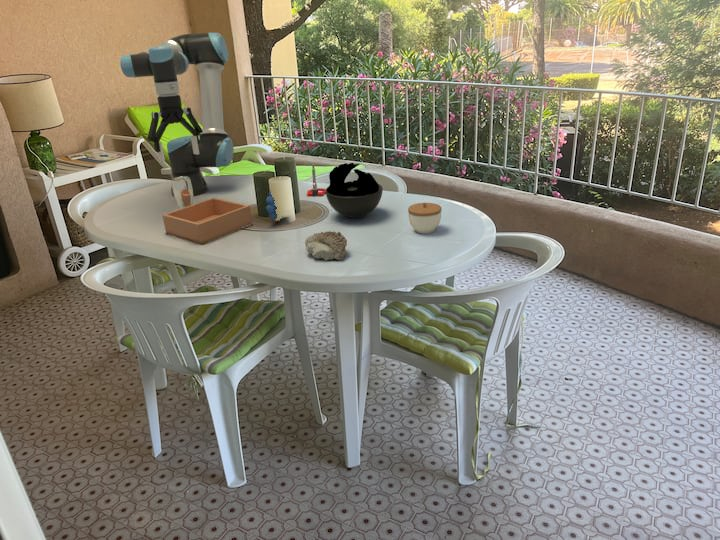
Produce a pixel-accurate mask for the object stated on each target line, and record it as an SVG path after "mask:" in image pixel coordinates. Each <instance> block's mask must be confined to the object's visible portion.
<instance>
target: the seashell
mask: <svg viewBox="0 0 720 540" xmlns="http://www.w3.org/2000/svg"><path fill="white" fill-rule="evenodd" d="M304 244H305V250H306V251H307V253H309V254H312V257H313V258H314V259H323V260H324V261H327V262H328V261H332V260H334V259H335V260H338V261H341V260H343V259H344V258H345V255H346V247H347V246H348V245H347V244H348V239H346V237H345V236H344V235H343V234H342V233H341V231H337V232H336V231H330V230H329V231H324V232H322V231H320V232H318V233H314V234H311V235H310V236H308V237H306V239H305V241H304Z"/></svg>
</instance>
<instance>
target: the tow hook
mask: <svg viewBox="0 0 720 540" xmlns="http://www.w3.org/2000/svg"><path fill="white" fill-rule="evenodd" d="M311 168H312V170H311V172H312V188H310V189H309V190H307V193H306V196H307V197H323V196H325V195H326V189H327V188H324V187H323V188H318V186H317V185H318V184H317V179H316V169H315V163H312V164H311Z"/></svg>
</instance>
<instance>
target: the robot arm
mask: <svg viewBox="0 0 720 540" xmlns="http://www.w3.org/2000/svg"><path fill="white" fill-rule="evenodd" d="M229 57H230V56H229V51H228V47H227V43H226V41H225V39H224V37H223V35H222V34H220V33H219V32H210V31H209V32H201V33H185V34H181V35H177V36H174V37H171V38H168V39H166V40H164V41H162V42H161V44H160V45H158V46H151V47H149V49H147V50H143V51H141V52H138V53H134V54H130V53H129V54H125V55H121V58H120V61H119V62H120V69H121V72H122V73H123V75H124V77H125V76H126V78H142V77H143V78H144V77H153V81H154V87H155V88H154V89H155V93H156V95H157V103H158V107H159V112H158V111H152V112H150V113H151V121H150V125H149V130H148V134H147V139H146V140H147V141H148V142H152V143H153V147H154V151H155V152H156V153H157V157H158V161H159V162H161V163H162V162H163V163H165V162H166V158H165V154H164V152H165V151H164V148H163V143H162V142H161V139H162V137H163V135H164V132H165V131H166V128H167V127H168V126H169V125H171V124H175V123H176V124H179V123H180V125H182V126H183V127H184V128H185V129H186V130H187V131H189V133H190V134H191V135H186V136H181V137H177V138H174V139H171V140H169V141H167V143H166V150H167V155H168V160H169V161H168V162H169V166H170V171H171V175H172V177H171V180H172V179H173V178H176V177H182V176H188V177H190V180H191V184H192V188H193V197H194V196H198V195H202V194H204V193H206V192H207V191H208V190H209V189H208V183H207V182H206V180H205V178H204V177H203V175H202V172H201V168H221V167H228V166H229V165H230V164H231V163H232V161H233V158H234V143H233V140H232V138H230V137H229V134H228V132H226V131H225V128H224V127H225V126H224V110H223V107H224V106H223V88H222V73H221V72H223V70H224V69H225V64H226V63H228V62H229ZM189 65H194V68H195V69H196V70H197V71H198V72H199V89H200V103H201V104H200V106H201V119H202V120H201V121H202V128H201V126H200V124H199V122H198V121H197V120H196V118H195V116H194V114H193V112H192V110H191V109H192V108H191V107H184V108H183V107H182V104H183V103H182V99H181V97H182V96H181V95H180V87H179V82H178V77H177V76H180V75H181V76H182V75H183V74H184V73H186V72H187V71H188V70H189V69H188V68H189V67H190V66H189ZM183 115H185V116H186V118H187V119H186V118H184V116H183ZM160 117H161V120H160V122H159V119H160ZM187 120H188V121H189V122H188V121H187ZM159 123H160V124H159ZM158 125H159V126H158ZM170 192H171V195H172V196H173V197H174V193H173V188H172V186H171V187H170Z"/></svg>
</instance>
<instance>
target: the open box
mask: <svg viewBox="0 0 720 540" xmlns="http://www.w3.org/2000/svg"><path fill="white" fill-rule="evenodd" d="M161 216H162V220H163V225H164V229H165V234H166V235H168V236H172V237H174V236H175V238H177V239H178V238H179V239H181V240H184V241H188V242H192V243H195V244H199V245H202V246H203V245H205V244H208V243H210V242H213V241H215V240H218V239H220V238H223V237H226V236H228V235H230V234H233V233H235V232H237V230H238V231H240V230H242V229H241V228H242V227H244V226H246V225H249V224H251V223H252V224H253V219H252V212H251V205H248V204H243V203H239V202H234V201H230V200H225V199H221V198H217V197H211V198H209V199H206V200H202V201H200V202H197V203H193V205H190V206H187V207H184V208H181V209H179V208H178V209H175V210H173V211H170V212H166V213H164V214H162V215H161ZM239 229H240V230H239Z"/></svg>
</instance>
